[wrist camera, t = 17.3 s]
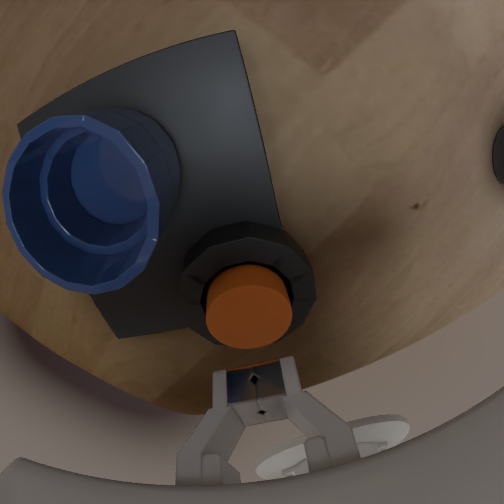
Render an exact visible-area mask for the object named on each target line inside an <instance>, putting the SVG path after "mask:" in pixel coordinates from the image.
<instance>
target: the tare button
mask: <svg viewBox="0 0 504 504" xmlns="http://www.w3.org/2000/svg"><path fill="white" fill-rule="evenodd" d="M291 321H292V308H291V304H290V301H289V298H288V294H287V291H286V288H285V285H284V283H283V281H282V279H281V278H280V277H279V276H278V275H277V274H276V273H275V272H273V271H272V270H270V269H268V268H265V267H263V266H259V265H250V264H247V265H239V266H235V267H232V268H229V269H227V270H225V271H223V272H222V273H221V274H219V275H218V276H217V277H216V278H215V279H214V280H213V282H212V283H211V285H210V287H209V289H208V293H207V306H206V324H207V327H208V329H209V331H210V333H211V334H212V335H213V337H215V338H216V339H217V340H218V341H220V342H221V343H223V344H225V345H227V346H230V347H234V348H239V349H254V348H259V347H263V346H266V345H269V344H271V343H273V342H275V341H276V340H278V339H279V338H280V337H281V336H283V335H284V334H285V332H286V331H287V330H288V328H289V326H290V324H291Z"/></svg>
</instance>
